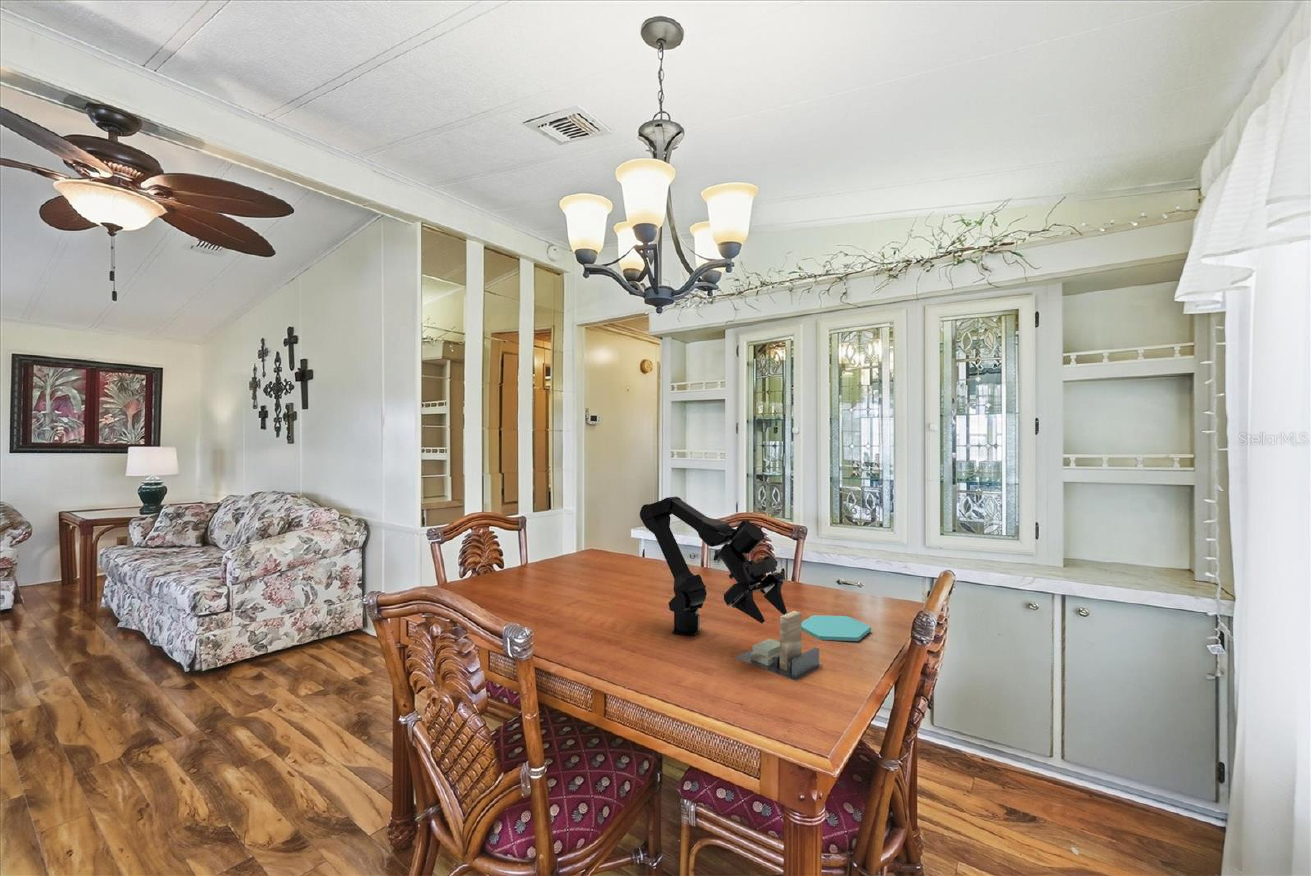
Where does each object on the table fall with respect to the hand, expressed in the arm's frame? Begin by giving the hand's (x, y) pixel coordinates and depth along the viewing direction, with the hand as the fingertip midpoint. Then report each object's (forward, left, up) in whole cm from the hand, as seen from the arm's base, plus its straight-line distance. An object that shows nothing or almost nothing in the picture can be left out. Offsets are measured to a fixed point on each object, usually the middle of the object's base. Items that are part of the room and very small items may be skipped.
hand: (774, 618), depth 130 cm
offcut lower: (-1, +1, -10) cm, 10 cm away
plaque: (+14, +29, -12) cm, 34 cm away
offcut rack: (+1, 0, -11) cm, 11 cm away
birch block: (+4, -2, -10) cm, 11 cm away
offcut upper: (-2, +1, -9) cm, 9 cm away
